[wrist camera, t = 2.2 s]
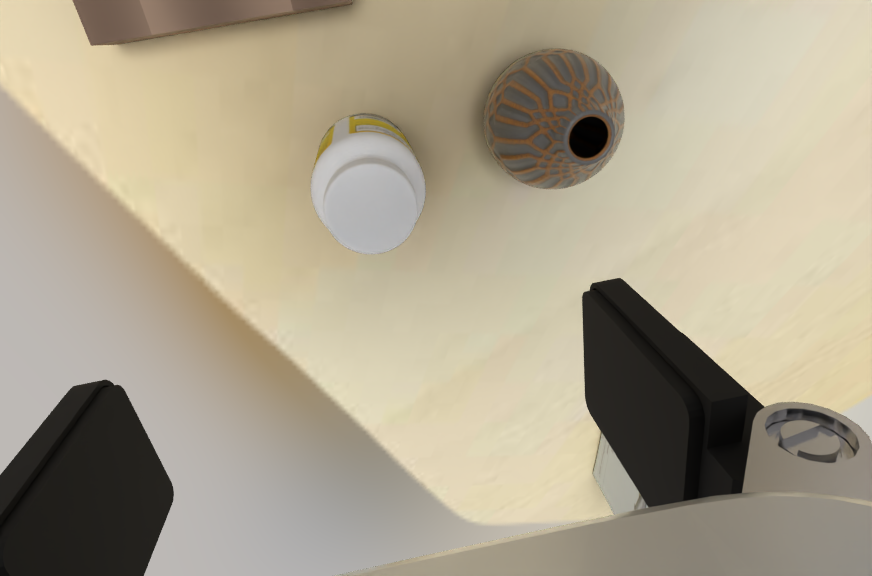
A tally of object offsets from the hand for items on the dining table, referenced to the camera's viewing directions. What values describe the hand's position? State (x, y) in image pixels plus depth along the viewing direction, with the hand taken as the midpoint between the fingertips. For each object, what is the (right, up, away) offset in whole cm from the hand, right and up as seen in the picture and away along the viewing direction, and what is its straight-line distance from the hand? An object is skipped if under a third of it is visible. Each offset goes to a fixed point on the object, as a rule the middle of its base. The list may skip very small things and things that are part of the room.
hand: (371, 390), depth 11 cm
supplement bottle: (-3, +10, +20) cm, 23 cm away
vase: (+7, +12, +20) cm, 25 cm away
